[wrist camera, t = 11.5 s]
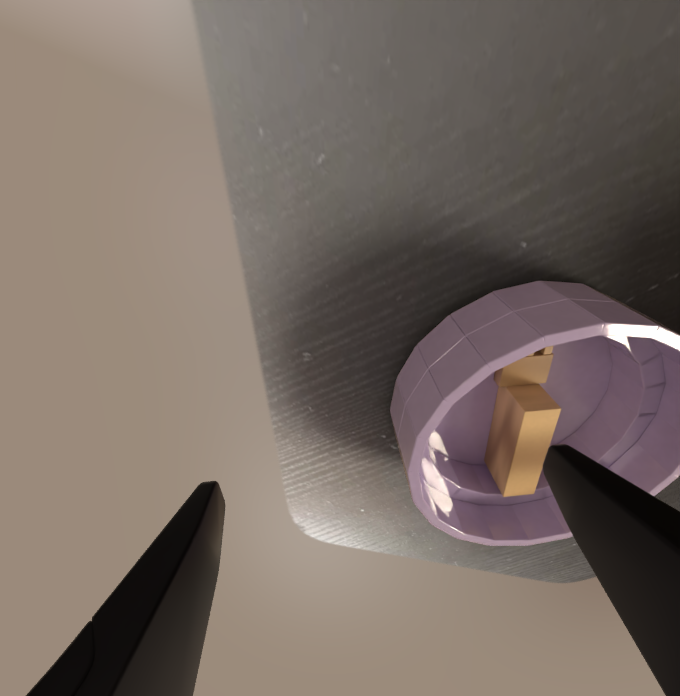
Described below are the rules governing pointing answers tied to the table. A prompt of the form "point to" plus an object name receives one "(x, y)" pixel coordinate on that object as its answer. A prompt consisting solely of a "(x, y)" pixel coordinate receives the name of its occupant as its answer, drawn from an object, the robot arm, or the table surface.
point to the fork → (521, 424)
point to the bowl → (562, 385)
